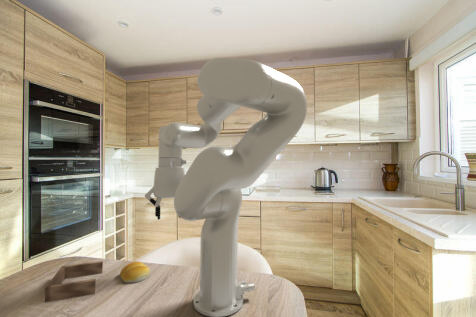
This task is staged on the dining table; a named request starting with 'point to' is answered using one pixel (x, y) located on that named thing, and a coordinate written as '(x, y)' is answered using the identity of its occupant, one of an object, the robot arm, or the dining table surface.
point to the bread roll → (134, 272)
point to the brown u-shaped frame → (74, 288)
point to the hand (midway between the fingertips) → (169, 217)
